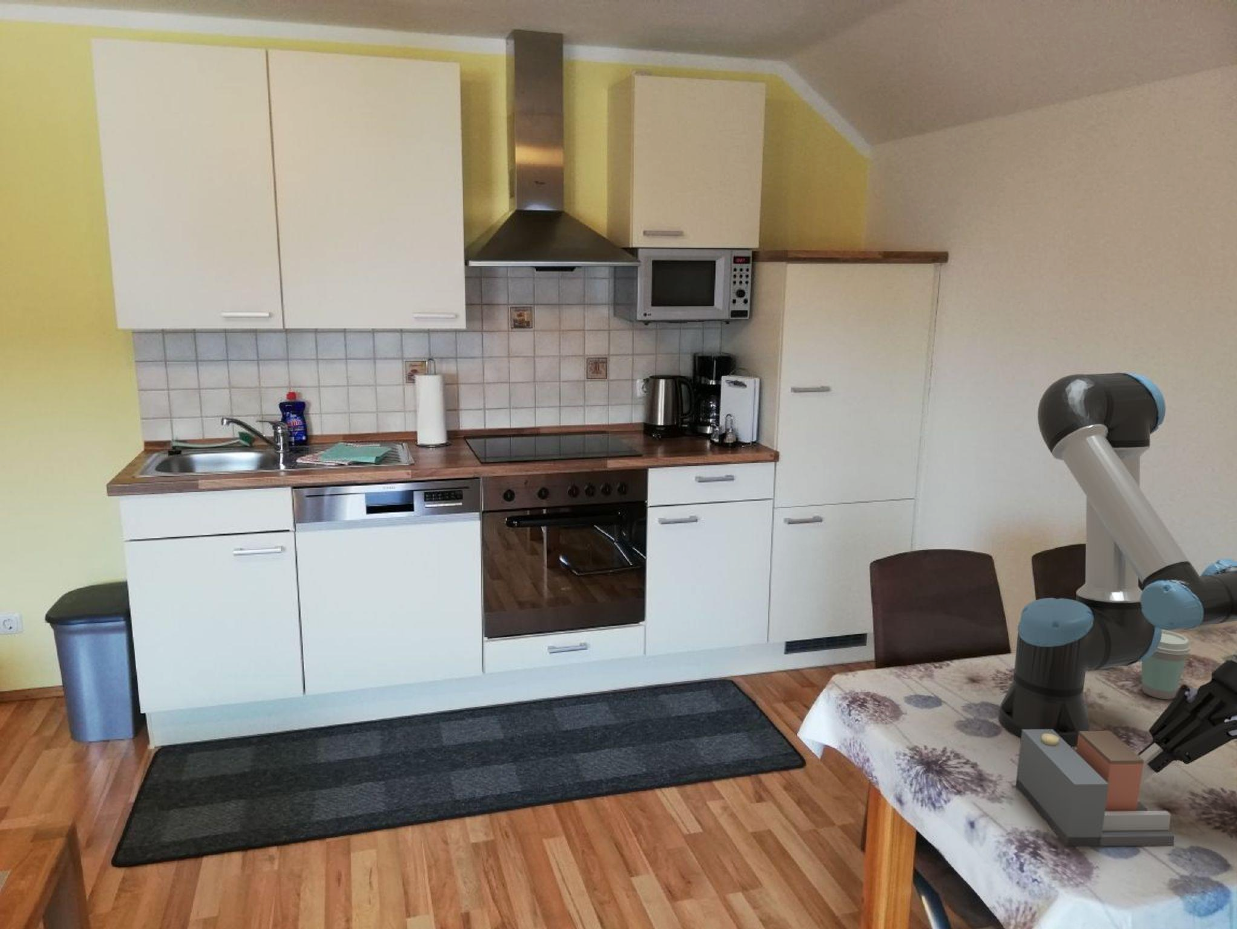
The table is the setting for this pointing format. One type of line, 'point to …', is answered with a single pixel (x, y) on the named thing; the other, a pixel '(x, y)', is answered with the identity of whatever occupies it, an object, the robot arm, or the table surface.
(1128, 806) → the orange brown-topped block
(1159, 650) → the coffee cup
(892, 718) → the table surface
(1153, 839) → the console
